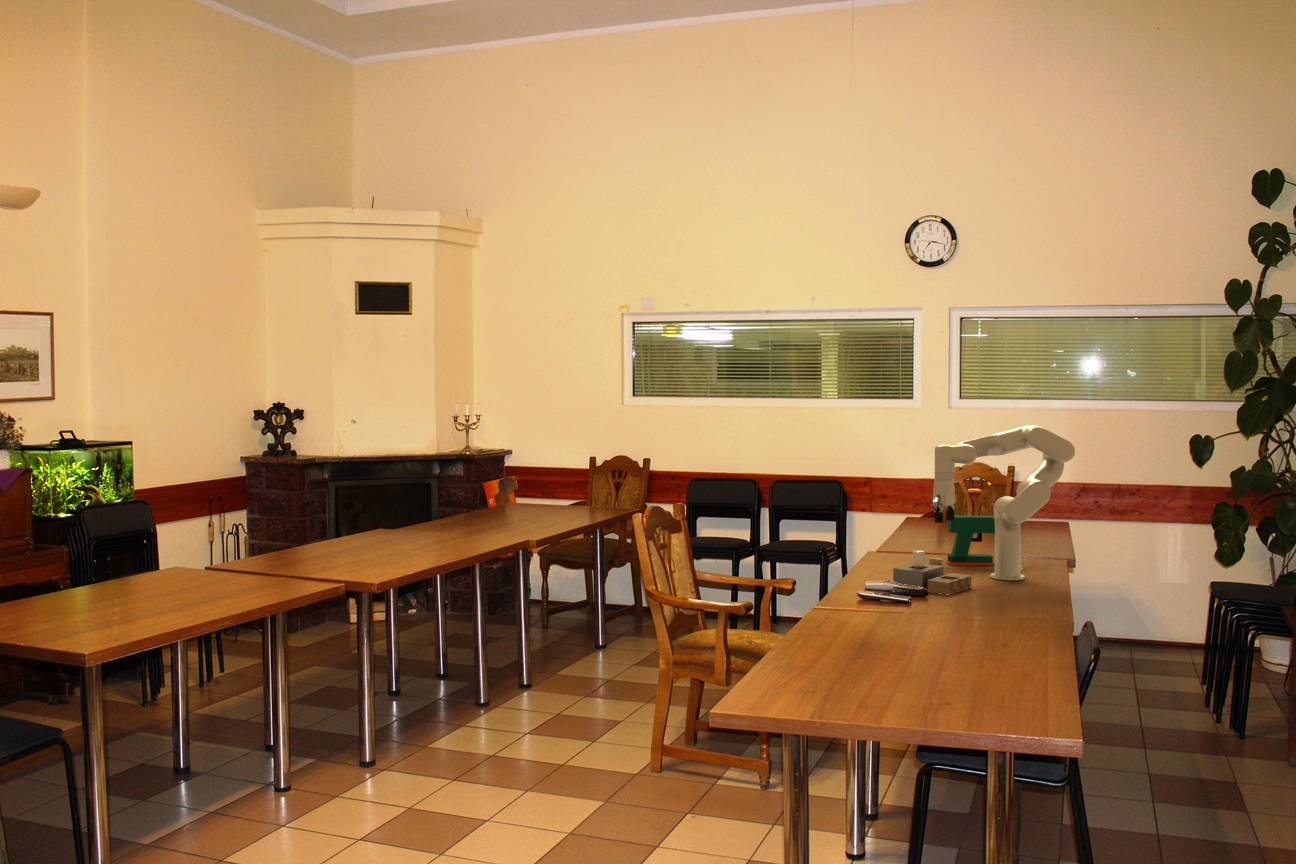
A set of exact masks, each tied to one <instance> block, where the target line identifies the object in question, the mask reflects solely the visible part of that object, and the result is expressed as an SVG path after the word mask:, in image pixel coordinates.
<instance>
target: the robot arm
mask: <svg viewBox="0 0 1296 864" xmlns="http://www.w3.org/2000/svg"><path fill="white" fill-rule="evenodd" d="M1031 448H1032V449H1036V450H1038V451H1039V452H1040V453H1042V462H1041V463H1040V465H1039V466H1038V467H1037V468H1036V469H1035V470H1034V471H1033V472H1032V473H1031V474H1030V475H1028V476H1027V477H1025V478H1024V479H1023V480H1022V481H1020V482H1019V484H1018V485H1017V487H1016V496H1014V497H1013V496H1009V495H1006V496H1005V495H1004V496H1002V497H999V498H998V499H997V500H996V501H995V502H994V504H993V509H992V510H993V516H994V522H995V533H994V570H993V571H994V572H991V573H990V574H989V575H990V578H992V579H994V580H1000V581H1001V580H1002V581H1023V580H1025V575H1024V574H1021V571H1022V570H1023V569H1024V567H1023V565H1021V560H1022V559H1021V558H1022V557H1021V556H1022V554H1021V553H1022V552H1021V551H1022V550H1021V544H1022V543H1021V542H1022V530H1021V529H1022V528H1021V527H1022V526H1020V523H1021V524H1023V523H1024V522H1025V521H1027V520H1029V519H1030V518H1031V517H1032V516H1033V515H1035V514H1036V513H1037V512H1038V511H1039V510H1041V508H1042V507H1044V506H1045V505H1046V504H1047V503H1048V502H1049V500H1050V499H1051V493H1052V492H1051V488H1052V486H1054V485H1055V484H1056V483H1057V482H1058V481H1059V479H1060V478H1061V477H1062V475H1063V473H1064V468H1065V463H1068V462H1070V461H1071V460H1073V458H1074V457H1075V454H1076V449H1075V446H1074V445H1073V443H1072V442H1071V441H1069V440H1067V439H1065V438H1064V437H1062V436H1060V435H1057V434H1056V433H1055V432H1052V431H1050V430H1048V429H1047V428H1044V427H1043V426H1038V425H1034V424H1033V425H1031V424H1030V425H1024V426H1020V427H1017V428H1013V429H1010V430H1004V431H1001V432H997V433H994V434H990V435H985V436H982V437H977V438H973V439H970V440H969V439H968V440H965V441H962V442H958V443H955V444H954V445H952V444H938V445H935V447H934V482H933V491H932V506H933V512H934V523H937V524H943V523H944V512H943V510H944V508H946V510H945V520H946V521H948V520H951V521H953V520H954V515H955V509H956V507H955V506H956V503H957V498H956V491H955V490H956V489H955V487H956V486H955V481H956V480H955V479H956V474H955V473H956V464H960V465H961V464H963V465H969V464H973V463H974V462H975V461H976V460H977V458H981V457H989V456H995V457H996V456H1005V455H1007V454H1011V453H1015V452H1019V451H1022V450H1027V449H1031Z"/></svg>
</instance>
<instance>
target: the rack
mask: <svg viewBox="0 0 1296 864" xmlns="http://www.w3.org/2000/svg"><path fill="white" fill-rule="evenodd" d="M970 587H971V588H972V575H968V574H959V573H947V574H944V576H940V577H937V578H933V579H930V580H928V590H927V592H928V591H929V592H931V593H930V594H936V593H942V594H941V595H943V594H951V593H954V592H957V591H960V590H963V591H965V590H964V589H966V590H968V589H967V588H969V589H971V588H970ZM960 592H961V591H960ZM957 593H958V592H957ZM954 594H955V593H954ZM951 595H952V594H951Z"/></svg>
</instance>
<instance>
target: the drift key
mask: <svg viewBox="0 0 1296 864" xmlns="http://www.w3.org/2000/svg"><path fill="white" fill-rule="evenodd" d="M928 562H929V565H937V566H944V558H939V557H938V558H937V557H929V561H928Z"/></svg>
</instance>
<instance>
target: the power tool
mask: <svg viewBox="0 0 1296 864" xmlns="http://www.w3.org/2000/svg"><path fill="white" fill-rule="evenodd" d="M1026 525H1027V524H1026V523H1025V524H1024V523H1020V527H1022V526H1026ZM947 532H949V533H950V534H955V539H954V543H953V545H952V550H951V553H947V559H946V560H945V563H946V562H947V563H948V564H949V565H948V564H947V563H946V564H947V565H948V566H977V565H994V566H995V561H994V556H993V555H991V554H989V553H988V554H987V553H985V554H984V553H983V554H981V553H980V554H979V553H977V554H976V553H969V552H970V548H971V545H972V543H973V542H976V543H981V542H983V534H995V522H994V515H967V514H965V515H963V514H962V515H961V514H960V515H957V514H954V520H953V521H951V520H947ZM974 534H977V535H976V537H974Z"/></svg>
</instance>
